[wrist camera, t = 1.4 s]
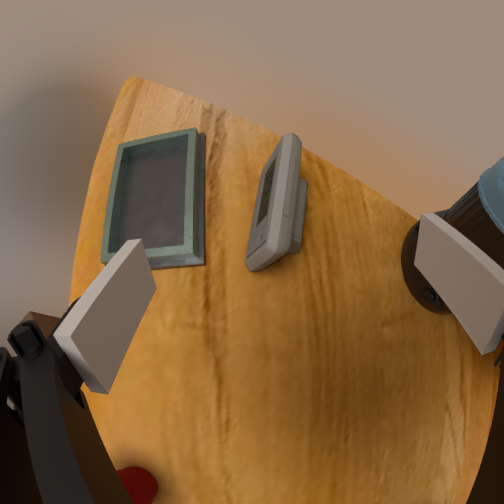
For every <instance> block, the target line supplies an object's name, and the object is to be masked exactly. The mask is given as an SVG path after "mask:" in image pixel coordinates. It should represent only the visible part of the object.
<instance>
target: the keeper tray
mask: <svg viewBox="0 0 504 504" xmlns="http://www.w3.org/2000/svg"><path fill="white" fill-rule="evenodd" d="M205 143H206V136H205V133H199V134H198V131H197V128H190V129H185V130H179V131H174V132H169V133H164V134H160V135H155V136H151V137H147V138H142V139H138V140H134V141H130V142H126V143H123V144H119V146H118V150H117V154H116V159H115V164H114V168H113V173H112V179H111V184H110V190H109V196H108V202H107V208H106V215H105V223H104V231H103V239H102V249H101V260H100V262H101V263H103V264H105V266H106V265H107V264H108V263H109V261H110V260H111V259H112V258H113V257H114V255H115V254H116V253H117V252H118V251H119V250H120V248H121V247H122V246H123V245H124V244H125V243H126V242H127V240H134V239H142V241H143V245H144V248H145V252H146V255H147V259H148V262H149V265H150V269H151V270H159V269H170V268H182V267H193V266H205V265H206V263H205Z"/></svg>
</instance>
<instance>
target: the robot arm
mask: <svg viewBox="0 0 504 504" xmlns="http://www.w3.org/2000/svg"><path fill="white" fill-rule="evenodd" d="M401 261H402V270H403V274H404V278H405V281H406V283H407V286H408V288H409V290H410V291H411V293H412V294H413V296H414V297H415V299H416V300H417V301H418V302H419V303H420V304H421V305H422V306H424V307H425V308H426V309H428V310H430V311H432V312H434V313H438V314H452V313H453V314H454V316H455V317H456V318H457V320H458V321H459V322H460V324H461V325H462V327H463V328H464V330H465V331H466V332H467V334H468V335H469V337H470V338H471V340H472V341H473V343H474V344H475V346H476V347H477V349H478V350H479V352H480V353H481V355H484V354H487V353H489V352H492V351H494V350H495V349H496V347H497V346H498V344H499V342H500V340H501V338H502V339H503V340H504V157H503V158H501V159H500V160H499V161H498V162H497V163H496V164H495V165H493V166H492V167H491V168H489V169H487V170H485V171H484V172H483V173H482V175H481V176H480V179H479V181H478V182H477V183H476V184H475V185H474V186H473V187H472V188H471V189H470V190H469V191H468V192H467V193H466V194H465V195H464V196H463V197H461V198H460V199H459V200H458V201H457V202H456V203H455V204H454V205H453V206H452V207H451V208H450V209H447V210H443V211H439V212H435V213H422V214H421V219H420V220H419V221H418V222H417V223H416V224H415V225H414V226H413V227H412V228H411V229H410V231H409V232H408V234H407V236H406V238H405V240H404V243H403V247H402V256H401ZM156 289H157V287H156V284H155V281H154V278H153V275H152V272H151V269H150V265H149V262H148V259H147V255H146V252H145V248H144V245H143V241H142V239H134V240H127V242H126V243H125V244H124V245H123V246H122V247H121V248H120V250H119V251H118V252H117V253H116V254H115V255H114V257H113V258H112V259H111V260H110V261H109V263H108V264H107V265H106V266H105V267H104V269H103V270H102V271H101V272H100V273H99V275H98V276H97V277H96V278H95V280H94V281H93V282H92V283H91V285H90V286H89V287H88V288H87V290H86V291H85V292H84V293H83V295H82V296H80V297H79V298H78V299H77V300H75V301H74V302H73V303H72V304H71V306H70V307H69V308H68V310H67V312H66V313H65V314H64V315H63V317H62V319H60V320H59V322H58V323H57V325H56V326H55V327H54V329H53V330H52V332H51V333H50V334H49V336H48V337H47V339H46V338H45V336H44V335H43V333H42V331H41V329H40V328H39V326H38V324H37V323H36V321H34V320H27V321H24V322H22V323H20V324H19V325H17V326H16V327H15V328H14V329H13V330H12V331H11V332H10V334H9V335H8V339H7V340H8V342H9V343H10V345H11V346H12V348H13V349H14V351H15V352H16V354H17V355H18V356H16V357H12V356H11V355H10V353H9V352H8V351H7V349H6V348H4V347H0V504H134V503H133V501H132V499H131V498H130V496H129V494H128V492H127V491H126V489H125V487H124V485H123V483H122V481H121V480H120V478H119V476H118V474H117V472H116V470H115V468H114V466H113V464H112V462H111V460H110V457H109V455H108V453H107V451H106V449H105V446H104V444H103V442H102V440H101V437H100V435H99V432H98V430H97V427H96V425H95V422H94V420H93V417H92V415H91V412H90V409H89V406H88V403H87V400H86V398H85V395H84V393H83V392H82V390H81V389H80V388H81V386H82V384H83V381H84V382H85V384H86V385H87V386H88V388H89V389H90V390H91V392H96V393H102V394H109V391H110V389H111V387H112V384H113V382H114V379H115V377H116V375H117V372H118V370H119V368H120V365H121V363H122V361H123V359H124V356H125V354H126V352H127V350H128V347H129V345H130V343H131V341H132V339H133V336H134V334H135V332H136V330H137V328H138V326H139V324H140V321H141V319H142V317H143V315H144V313H145V311H146V309H147V307H148V305H149V303H150V301H151V299H152V297H153V295H154V293H155V291H156ZM500 360H501V364H500V366H499V367H500V378H499V386H498V393H497V399H496V405H495V410H494V415H493V420H492V425H491V429H490V433H489V437H488V441H487V445H486V449H485V452H484V455H483V459H482V462H481V465H480V468H479V471H478V474H477V477H476V480H475V482H474V485H473V488H472V490H471V493H470V495H469V498H468V500H467V502H466V504H504V347H503V349H502V351H501V352H500V354H499V356H498V358H497V359H496V361H495V364H494V366H496V365H497V364H498V362H499V361H500ZM7 397H8V398H9V399H10V400H11V402H12V403H13V404H14V409H13V410H12V409H11V408H10V407H9V406H8V405H7Z"/></svg>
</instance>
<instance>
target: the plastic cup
mask: <svg viewBox="0 0 504 504" xmlns="http://www.w3.org/2000/svg"><path fill="white" fill-rule="evenodd" d="M116 472H117V474H118V476H119V478H120V480H121V481H122V483H123V485H124V487H125V489H126V491H127V492H128V494H129V496H130V498H131V499H132V501H133V503H134V504H152V502H153V498H154V496H155V494H156V493H157V482H156V480H155V478H154V477H153V476H152V475H151V474H150V473H149V472H148V471H146V470H145V469H142V468H140V467H128V468H125V469H122V470H117V471H116Z"/></svg>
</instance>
